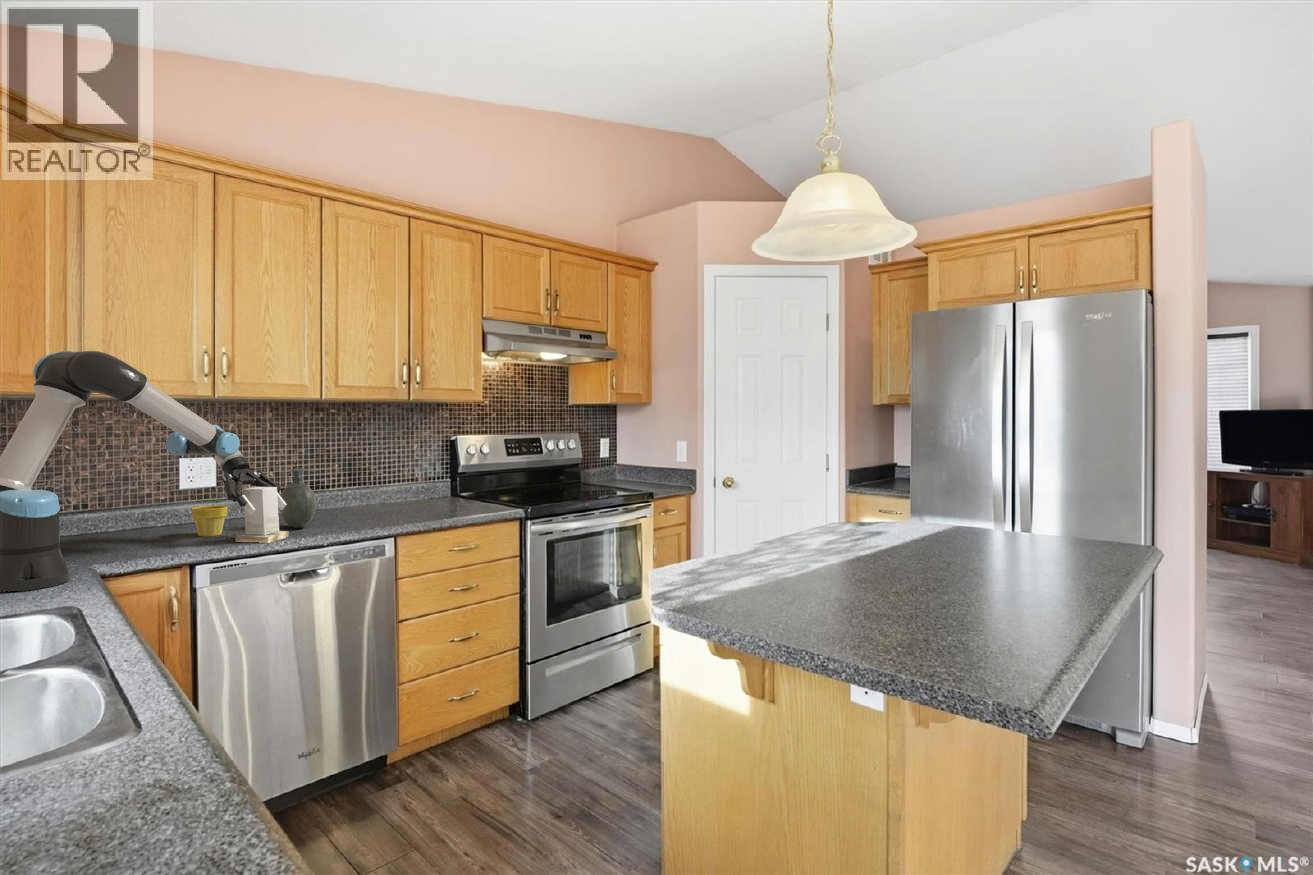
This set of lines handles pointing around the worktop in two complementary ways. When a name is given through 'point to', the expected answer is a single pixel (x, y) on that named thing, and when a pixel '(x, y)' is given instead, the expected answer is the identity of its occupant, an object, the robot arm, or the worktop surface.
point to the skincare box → (262, 511)
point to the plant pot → (209, 519)
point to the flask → (298, 502)
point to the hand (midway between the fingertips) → (268, 509)
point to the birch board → (262, 537)
